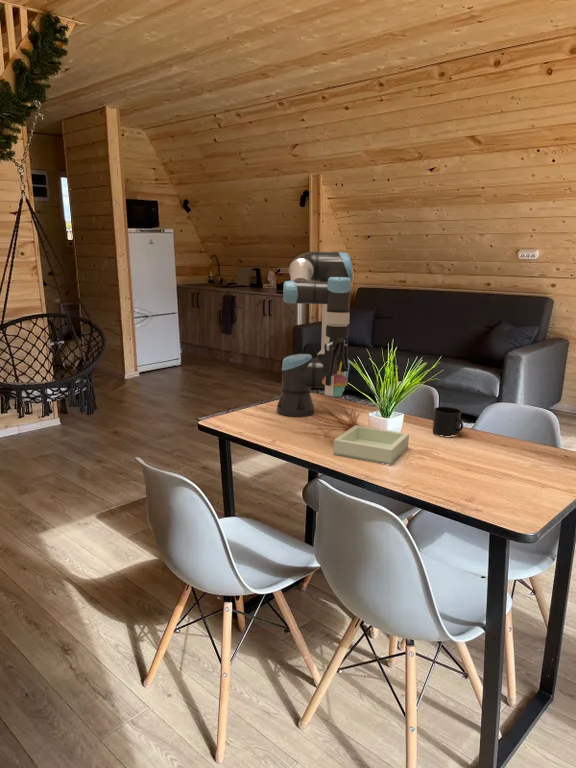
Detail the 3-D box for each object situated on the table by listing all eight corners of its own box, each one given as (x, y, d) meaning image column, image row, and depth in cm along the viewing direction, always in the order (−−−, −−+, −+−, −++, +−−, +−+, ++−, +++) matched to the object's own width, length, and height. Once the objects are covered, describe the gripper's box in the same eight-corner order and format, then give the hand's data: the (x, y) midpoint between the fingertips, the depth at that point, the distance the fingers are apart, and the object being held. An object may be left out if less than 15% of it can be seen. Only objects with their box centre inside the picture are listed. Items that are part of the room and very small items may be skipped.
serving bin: (354, 438, 213) (355, 425, 212) (408, 448, 204) (409, 434, 203) (333, 454, 196) (334, 439, 195) (390, 465, 188) (391, 450, 187)
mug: (452, 441, 213) (455, 416, 211) (427, 432, 223) (428, 408, 221) (470, 437, 218) (472, 413, 216) (444, 428, 228) (446, 405, 226)
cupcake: (347, 393, 206) (349, 358, 204) (346, 398, 198) (348, 362, 196) (322, 391, 208) (324, 357, 205) (320, 397, 199) (321, 361, 197)
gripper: (340, 321, 209) (337, 386, 213) (312, 326, 191) (310, 396, 195) (360, 323, 205) (357, 388, 210) (334, 328, 187) (331, 400, 192)
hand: (334, 392), depth 203 cm, fingers closed on cupcake, 8 cm apart
